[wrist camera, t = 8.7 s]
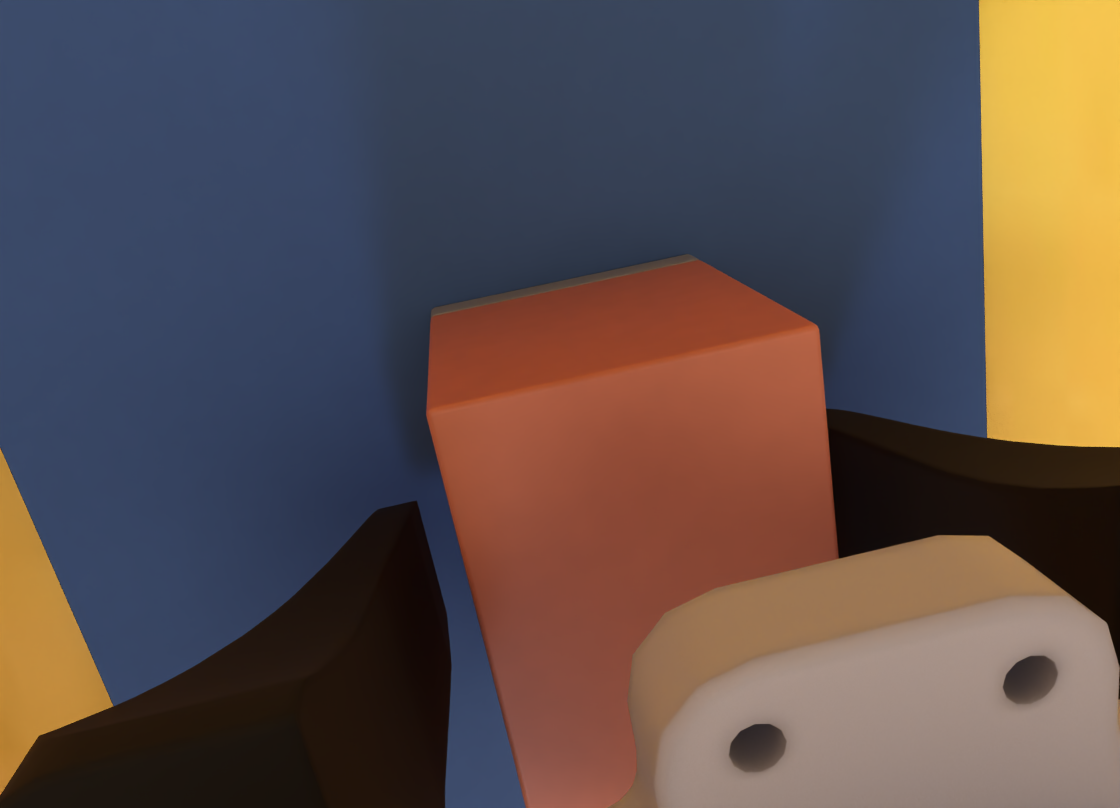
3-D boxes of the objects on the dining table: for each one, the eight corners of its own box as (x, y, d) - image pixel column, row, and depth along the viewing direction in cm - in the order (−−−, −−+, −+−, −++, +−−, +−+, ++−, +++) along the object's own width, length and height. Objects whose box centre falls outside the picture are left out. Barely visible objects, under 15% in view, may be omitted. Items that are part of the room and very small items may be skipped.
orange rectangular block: (518, 676, 16) (552, 914, 11) (430, 307, 13) (424, 410, 9) (740, 623, 16) (864, 833, 11) (690, 251, 14) (821, 324, 9)
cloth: (253, 1005, 18) (250, 1020, 18) (-214, -71, 11) (-231, -76, 11) (986, 815, 19) (995, 826, 19) (962, -277, 12) (974, -286, 12)
